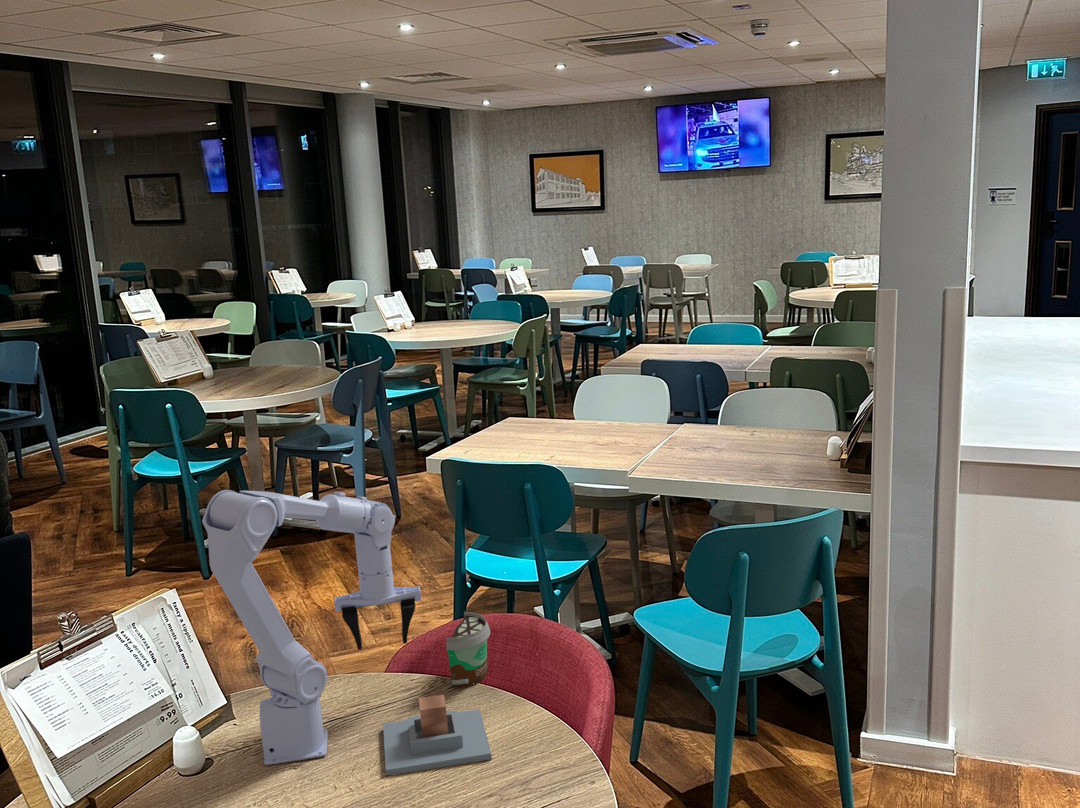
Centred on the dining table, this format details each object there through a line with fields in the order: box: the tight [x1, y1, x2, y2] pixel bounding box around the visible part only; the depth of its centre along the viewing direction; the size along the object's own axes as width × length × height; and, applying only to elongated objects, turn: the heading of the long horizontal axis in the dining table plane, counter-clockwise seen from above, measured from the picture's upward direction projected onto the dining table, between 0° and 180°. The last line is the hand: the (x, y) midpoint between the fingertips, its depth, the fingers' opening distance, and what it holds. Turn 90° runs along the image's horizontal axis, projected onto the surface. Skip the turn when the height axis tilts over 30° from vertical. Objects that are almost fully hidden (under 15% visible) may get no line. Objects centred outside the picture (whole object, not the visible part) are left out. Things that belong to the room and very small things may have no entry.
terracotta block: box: [418, 694, 448, 738], centre depth 151 cm, size 4×4×6 cm
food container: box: [445, 611, 491, 689], centre depth 172 cm, size 12×6×10 cm, turn 168°
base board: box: [382, 709, 493, 776], centre depth 151 cm, size 16×14×3 cm
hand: (382, 644), depth 165 cm, fingers open, 7 cm apart
